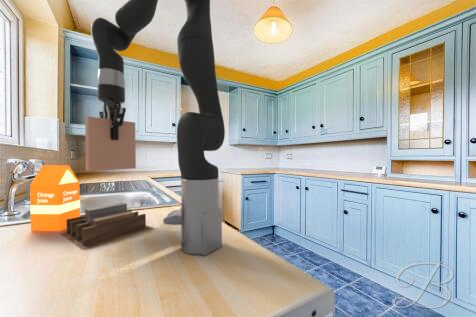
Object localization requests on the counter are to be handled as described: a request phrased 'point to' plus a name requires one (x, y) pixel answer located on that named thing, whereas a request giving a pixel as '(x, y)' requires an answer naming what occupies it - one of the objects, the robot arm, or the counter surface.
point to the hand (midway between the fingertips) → (112, 139)
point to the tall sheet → (109, 145)
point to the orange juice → (54, 198)
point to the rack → (103, 230)
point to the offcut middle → (104, 211)
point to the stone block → (173, 217)
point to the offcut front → (111, 218)
